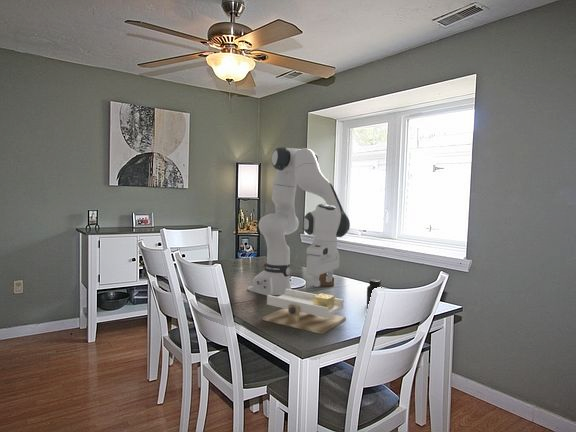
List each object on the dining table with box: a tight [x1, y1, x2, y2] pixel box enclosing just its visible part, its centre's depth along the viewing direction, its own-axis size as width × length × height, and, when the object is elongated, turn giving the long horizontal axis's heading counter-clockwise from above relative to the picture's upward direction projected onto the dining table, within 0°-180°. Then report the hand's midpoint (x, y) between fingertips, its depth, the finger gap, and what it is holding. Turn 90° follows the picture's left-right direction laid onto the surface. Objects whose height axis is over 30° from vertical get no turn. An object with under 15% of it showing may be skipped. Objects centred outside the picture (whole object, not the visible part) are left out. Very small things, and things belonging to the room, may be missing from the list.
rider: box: [313, 293, 336, 309], centre depth 151 cm, size 6×6×4 cm
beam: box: [266, 288, 344, 318], centre depth 155 cm, size 26×14×4 cm, turn 58°
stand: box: [261, 304, 347, 335], centre depth 155 cm, size 26×20×8 cm
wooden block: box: [319, 272, 335, 287], centre depth 214 cm, size 9×4×18 cm, turn 97°
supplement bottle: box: [366, 278, 383, 308], centre depth 175 cm, size 7×7×12 cm
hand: (323, 283), depth 150 cm, fingers open, 8 cm apart
